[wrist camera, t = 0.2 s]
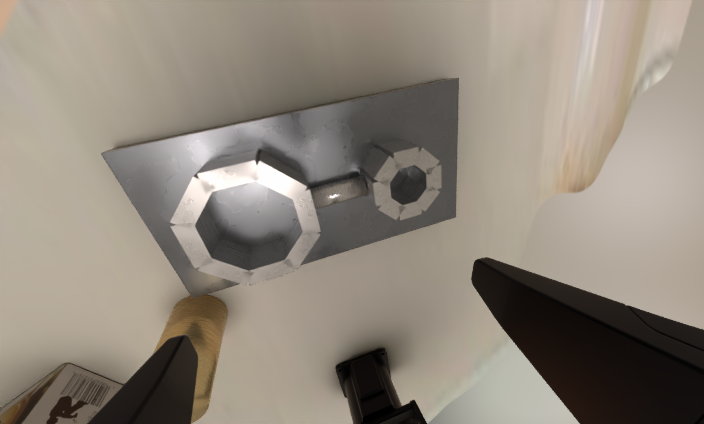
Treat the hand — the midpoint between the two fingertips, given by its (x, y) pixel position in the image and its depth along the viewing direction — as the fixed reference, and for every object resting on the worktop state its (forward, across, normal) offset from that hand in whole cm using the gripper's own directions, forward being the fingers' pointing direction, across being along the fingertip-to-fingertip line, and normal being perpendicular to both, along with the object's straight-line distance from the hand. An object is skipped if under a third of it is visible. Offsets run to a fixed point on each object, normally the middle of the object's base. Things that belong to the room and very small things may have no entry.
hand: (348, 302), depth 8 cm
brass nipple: (+14, +11, +12) cm, 22 cm away
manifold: (+14, -1, +1) cm, 14 cm away
